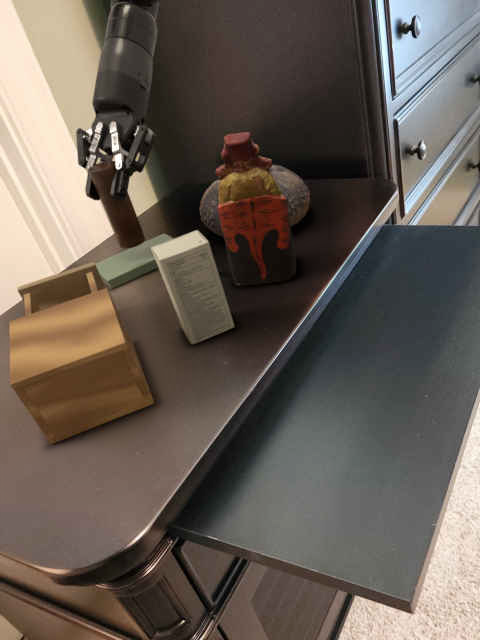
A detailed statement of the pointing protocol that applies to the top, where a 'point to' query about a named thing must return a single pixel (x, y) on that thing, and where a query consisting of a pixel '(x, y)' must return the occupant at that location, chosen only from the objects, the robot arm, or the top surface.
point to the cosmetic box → (194, 286)
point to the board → (130, 263)
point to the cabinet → (76, 366)
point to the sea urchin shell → (286, 182)
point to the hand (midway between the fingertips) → (104, 198)
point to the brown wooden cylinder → (117, 207)
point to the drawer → (61, 288)
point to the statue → (253, 215)
